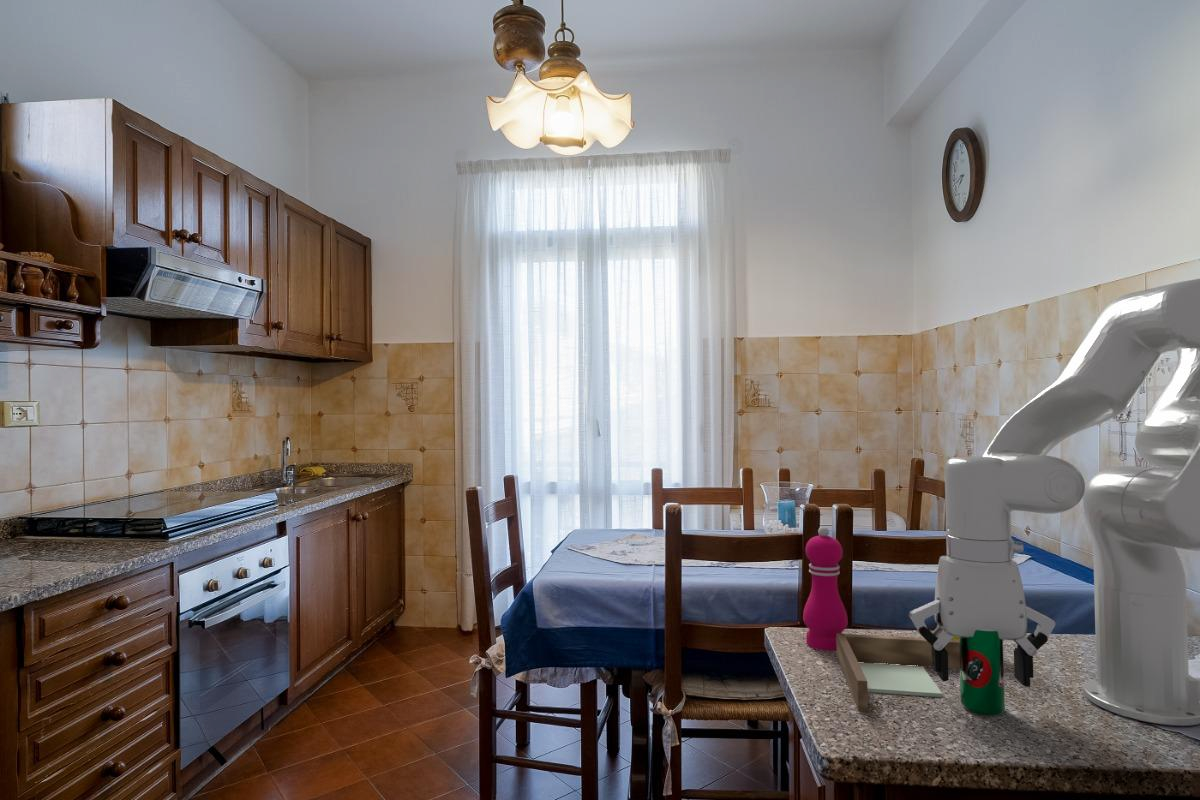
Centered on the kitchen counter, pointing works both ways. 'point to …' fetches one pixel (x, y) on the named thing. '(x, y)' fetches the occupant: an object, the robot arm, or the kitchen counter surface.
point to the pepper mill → (824, 593)
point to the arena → (883, 657)
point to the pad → (899, 680)
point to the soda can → (982, 673)
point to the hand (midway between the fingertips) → (981, 679)
